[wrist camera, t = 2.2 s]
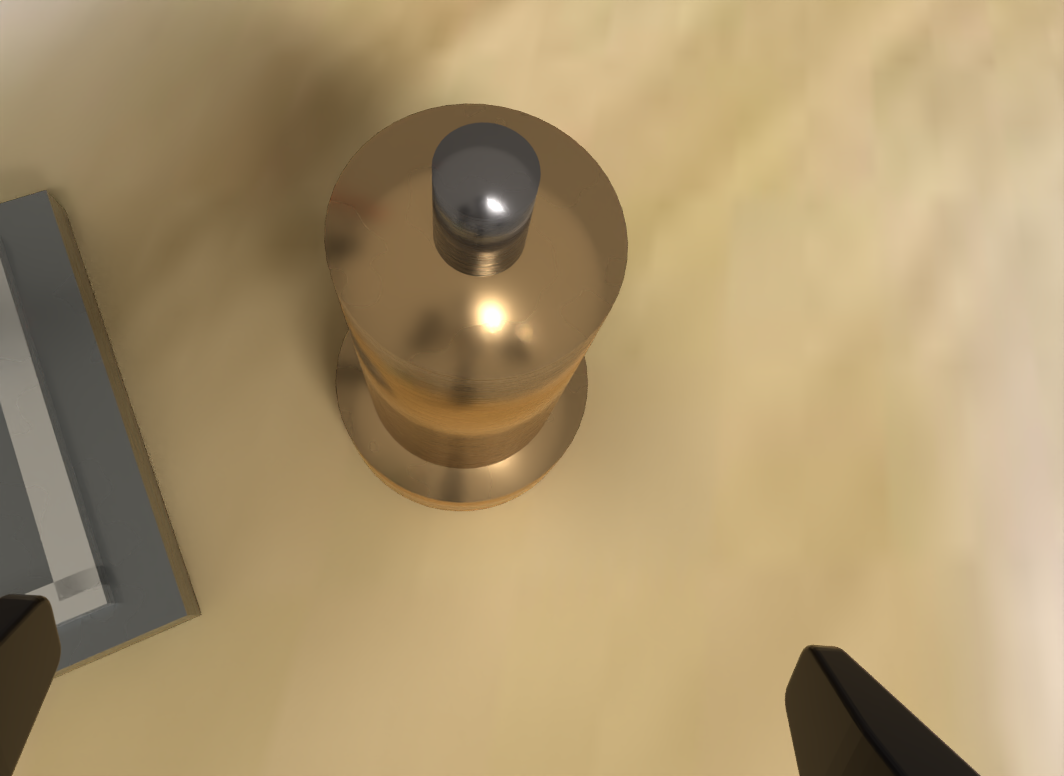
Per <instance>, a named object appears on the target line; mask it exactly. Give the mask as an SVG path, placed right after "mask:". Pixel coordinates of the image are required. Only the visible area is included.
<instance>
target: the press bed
mask: <svg viewBox="0 0 1064 776" xmlns="http://www.w3.org/2000/svg"><path fill="white" fill-rule="evenodd" d="M8 594H26V595H41V596H44V597H46V598H47V599H48V600H49V601H50V603H51V606H52V610H53V614H54V618H55V622H56V627H57V631H58V635H59V639H60V643H61V656H60V661H59V665H58V668H57V670H56V673H55V675H54V677H53V679H54V678H56V677H58V676H61V675H63V674H65V673H68V672H70V671H72V670H74V669H77V668H79V667H81V666H84V665H86V664H88V663H91V662H93V661H95V660H98V659H100V658H102V657H105V656H107V655H109V654H112V653H114V652H116V651H118V650H121V649H123V648H125V647H128V646H130V645H132V644H135V643H137V642H139V641H142V640H144V639H146V638H149V637H151V636H153V635H155V634H158V633H160V632H162V631H165V630H167V629H169V628H172V627H174V626H176V625H179V624H181V623H183V622H186V621H188V620H190V619H193V618H195V617H197V616H199V615H201V612H200V609H199V606H198V603H197V600H196V597H195V594H194V591H193V589H192V586H191V583H190V580H189V577H188V574H187V571H186V568H185V565H184V562H183V559H182V556H181V553H180V550H179V547H178V544H177V541H176V538H175V535H174V532H173V529H172V526H171V523H170V520H169V517H168V514H167V511H166V508H165V505H164V502H163V499H162V496H161V493H160V490H159V487H158V484H157V481H156V478H155V475H154V473H153V470H152V467H151V464H150V461H149V458H148V455H147V452H146V449H145V446H144V443H143V440H142V437H141V434H140V431H139V428H138V425H137V422H136V419H135V416H134V413H133V410H132V407H131V404H130V401H129V398H128V395H127V392H126V389H125V386H124V383H123V380H122V377H121V374H120V371H119V368H118V365H117V362H116V359H115V357H114V354H113V351H112V348H111V345H110V342H109V339H108V336H107V333H106V330H105V327H104V324H103V321H102V318H101V315H100V312H99V309H98V306H97V303H96V300H95V297H94V294H93V291H92V288H91V285H90V282H89V279H88V276H87V273H86V270H85V267H84V264H83V261H82V258H81V255H80V252H79V249H78V246H77V243H76V241H75V238H74V235H73V232H72V229H71V226H70V223H69V220H68V217H67V214H66V211H65V210H64V209H63V208H62V206H61V205H60V204H59V203H58V202H57V201H56V200H55V199H54V198H53V197H52V196H51V195H50V194H49V193H48V192H47V191H46V190H45V191H41V192H38V193H34V194H31V195H28V196H24V197H21V198H18V199H14V200H11V201H7V202H4V203H1V204H0V597H2V596H5V595H8Z"/></svg>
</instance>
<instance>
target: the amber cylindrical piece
mask: <svg viewBox="0 0 1064 776" xmlns="http://www.w3.org/2000/svg"><path fill="white" fill-rule="evenodd" d="M325 249H326V257H327V263H328V266H329V270H330V273H331V277H332V280H333V283H334V286H335V289H336V292H337V295H338V298H339V301H340V305H341V308H342V311H343V314H344V317H345V320H346V323H347V326H348V331H347V333H346V336H345V338H344V340H343V343H342V347H341V350H340V353H339V358H338V364H337V370H336V390H337V398H338V405H339V408H340V412H341V416H342V419H343V422H344V424H345V426H346V429H347V431H348V433H349V435H350V437H351V439H352V441H353V443H354V445H355V447H356V448H357V450H358V452H359V453H360V455H361V457H362V458H363V460H364V462H365V463H366V464H367V466H368V467H369V468H370V469H371V470H372V472H373V473H374V474H375V475H376V476H377V477H378V478H379V479H380V480H381V481H382V482H383V483H384V484H386V485H387V486H388V487H390V488H391V489H393V490H394V491H395V492H397V493H398V494H400V495H402V496H404V497H406V498H408V499H409V500H411V501H414V502H417V503H419V504H422V505H425V506H428V507H432V508H437V509H441V510H450V511H474V510H480V509H486V508H490V507H494V506H497V505H500V504H503V503H506V502H508V501H510V500H512V499H514V498H516V497H518V496H520V495H521V494H523V493H525V492H526V491H528V490H529V489H531V488H532V487H533V486H534V485H536V484H537V483H538V482H539V481H540V480H541V479H543V477H544V476H545V475H546V474H547V473H548V472H549V471H550V470H551V469H552V468H553V466H554V465H555V464H556V463H557V461H558V460H559V459H560V458H561V457H562V455H563V454H564V452H565V451H566V449H567V448H568V447H569V445H570V444H571V442H572V440H573V438H574V436H575V434H576V432H577V430H578V428H579V426H580V423H581V420H582V417H583V414H584V410H585V405H586V400H587V387H588V379H587V366H586V362H585V357H584V355H585V353H586V351H587V350H588V348H589V346H590V345H591V343H592V341H593V339H594V338H595V336H596V334H597V332H598V331H599V329H600V327H601V325H602V324H603V322H604V320H605V319H606V317H607V315H608V313H609V312H610V310H611V308H612V306H613V304H614V302H615V300H616V298H617V296H618V294H619V291H620V288H621V285H622V282H623V279H624V275H625V269H626V264H627V251H628V240H627V229H626V223H625V219H624V215H623V211H622V207H621V205H620V202H619V200H618V197H617V194H616V192H615V190H614V188H613V186H612V185H611V183H610V181H609V179H608V177H607V176H606V174H605V173H604V172H603V170H602V169H601V167H600V166H599V165H598V163H597V162H596V161H595V160H594V159H593V158H592V156H591V155H590V154H589V153H588V152H587V151H586V150H585V149H584V148H583V147H582V146H580V145H579V144H578V143H577V142H576V141H575V140H573V139H572V138H571V137H570V136H568V135H567V134H565V133H564V132H562V131H561V130H559V129H558V128H556V127H555V126H553V125H551V124H549V123H547V122H545V121H543V120H541V119H539V118H537V117H534V116H531V115H529V114H526V113H524V112H521V111H517V110H513V109H509V108H505V107H500V106H493V105H486V104H456V105H446V106H441V107H436V108H431V109H427V110H424V111H421V112H418V113H415V114H412V115H409V116H407V117H405V118H403V119H401V120H399V121H396V122H394V123H393V124H391V125H389V126H388V127H386V128H385V129H383V130H382V131H380V132H378V133H377V134H376V135H375V136H374V137H372V138H371V139H370V140H369V141H368V142H366V143H365V144H364V145H363V146H362V147H361V148H360V149H359V151H358V152H357V153H356V154H355V155H354V156H353V157H352V158H351V160H350V161H349V163H348V164H347V166H346V167H345V168H344V170H343V171H342V173H341V175H340V177H339V179H338V181H337V183H336V185H335V187H334V189H333V192H332V195H331V198H330V201H329V204H328V209H327V215H326V221H325Z"/></svg>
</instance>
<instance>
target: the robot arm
mask: <svg viewBox="0 0 1064 776" xmlns="http://www.w3.org/2000/svg"><path fill="white" fill-rule="evenodd" d="M60 656H61V643H60V639H59V635H58V631H57V627H56V622H55V618H54V614H53V610H52V606H51V603H50V601H49V600H48V599H47V598H46V597H44V596H41V595H26V594H8V595H5V596H2V597H0V776H12V774H13V772H14V770H15V767H16V765H17V762H18V760H19V758H20V755H21V753H22V751H23V748H24V746H25V744H26V741H27V739H28V737H29V734H30V732H31V729H32V727H33V725H34V722H35V720H36V718H37V715H38V713H39V711H40V708H41V706H42V703H43V701H44V699H45V696H46V694H47V692H48V689H49V687H50V685H51V682H52V680H53V677H54V675H55V673H56V670H57V668H58V665H59V661H60ZM785 707H786V712H787V717H788V722H789V727H790V732H791V736H792V741H793V746H794V751H795V756H796V761H797V766H798V770H799V775H800V776H980V775H979V774H978V773H977V772H976V771H975V770H974V769H973V768H972V767H971V766H970V765H968V764H967V763H966V762H965V761H964V760H963V759H962V758H961V757H960V756H959V755H958V754H956V753H955V752H954V751H953V750H952V749H951V748H950V747H949V746H948V745H947V744H945V743H944V742H943V741H942V740H941V739H940V738H939V737H938V736H937V735H936V734H935V733H933V732H932V731H931V730H930V729H929V728H928V727H927V726H926V725H925V724H924V723H923V722H921V721H920V720H919V719H918V718H917V717H916V716H915V715H914V714H913V713H912V712H911V711H909V710H908V709H907V708H906V707H905V706H904V705H903V704H902V703H901V702H900V701H898V700H897V699H896V698H895V697H894V696H893V695H892V694H891V693H890V692H889V691H888V690H886V689H885V688H884V687H883V686H882V685H881V684H880V683H879V682H878V681H877V680H876V679H874V678H873V677H872V676H871V675H870V674H869V673H868V672H867V671H866V670H865V669H864V668H862V667H861V666H860V665H859V664H858V663H857V662H856V661H855V660H854V659H853V658H851V657H850V656H849V655H848V654H847V653H846V652H845V651H843V650H842V649H840V648H838V647H835V646H820V645H809V646H807V647H806V648H804V649H803V651H802V653H801V655H800V657H799V660H798V662H797V664H796V667H795V669H794V671H793V674H792V676H791V678H790V681H789V683H788V685H787V688H786V693H785Z"/></svg>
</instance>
